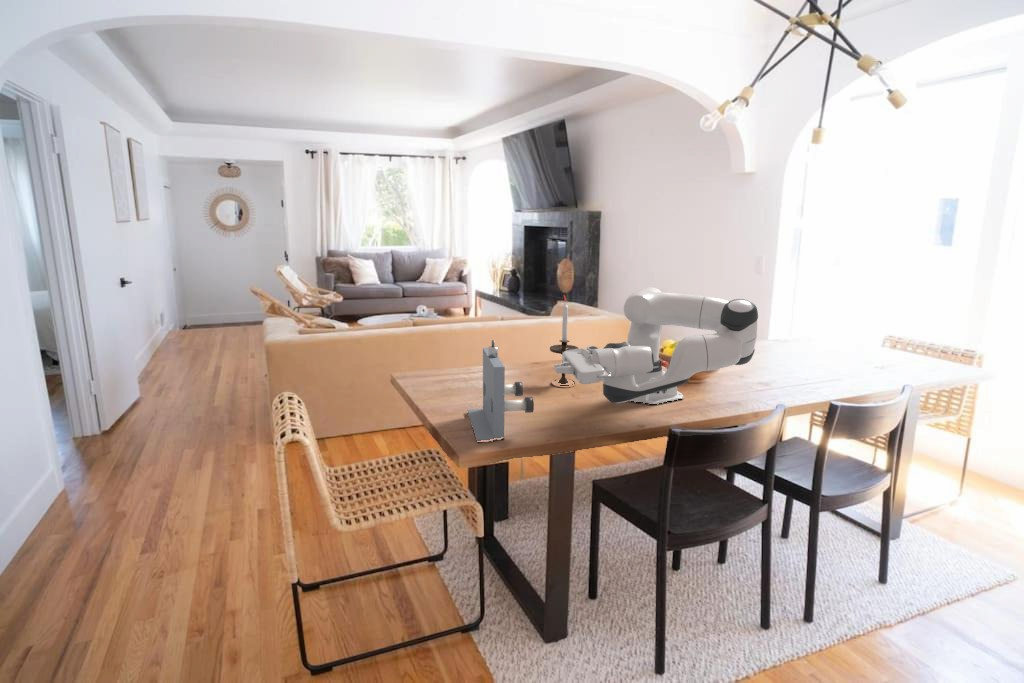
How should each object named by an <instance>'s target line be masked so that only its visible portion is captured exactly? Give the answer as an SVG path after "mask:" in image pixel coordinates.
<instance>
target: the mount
mask: <svg viewBox="0 0 1024 683" xmlns="http://www.w3.org/2000/svg"><path fill="white" fill-rule="evenodd" d="M505 368H506V367H505V365H504V363H503V361H501V359H500V357H499V356H498V357H496V358H490V357H488V347H482V408H475V409H474V408H472V409H471V408H469V409H468V408H467V411H468V413H467V415H468V414H469V416H468V418H469V417H470V419H469V421H470V420H471V422H470V424H471V423H472V425H471V427H472V426H473V429H474V432H475V435H474V437H475V436H476V438H475V440H476V439H477V441H481V440H490V439H494V438H501V437H504V438H505V412H504V401H505V395H504V387H505V385H506V383H505V382H506V380H505ZM473 429H472V430H473ZM474 432H473V433H474ZM477 441H476V442H477Z"/></svg>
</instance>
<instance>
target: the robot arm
mask: <svg viewBox="0 0 1024 683" xmlns="http://www.w3.org/2000/svg"><path fill="white" fill-rule="evenodd" d="M623 313H624V316H625V318H626V319H627V320H628V321H630V322H631V323H630V326H629V331H628V334H627V341H623V342H619V343H618V342H617V343H613V342H610V343H609V342H608V343H606V345H605V346H604V347H603V348H602V347H597V346H594V345H588V346H587V347H586V348H583V347H582V348H580V347H579V349H573V350H567V351H565V352H563V353H562V354H561V363H559V364H558V363H557V364H556V363H555V364H554V365H553V370H554V372H555V373H556V374H562V373H565V375H573V376H574V378H575V379H576V380H577V382H579V384H580V385H590V384H591V385H592V384H597V383H600V382H603V383H602V395H603V396H604V398H606V399H607V400H608V401H609V402H610V403H613V404H623V403H626V402H631V401H634V402H633V403H636V402H643V403H642V404H645V403H649V404H657V405H660V404H659V403H662V404H664V403H663V402H667V401H672V402H675V401H674V400H677V401H679V400H678V399H682V400H684V395H683V393H681V392H680V391H678V387H680V386H683V385H684V384H687V383H688V382H689V380H690V378H691V377H692V376H693V375H695V374H698V373H700V372H705V371H713V370H720V369H724V368H728V367H733V366H741V365H742V366H743V365H745V364H747V363H749V362H750V361H751V360H752V358H753V357H754V355H755V354H754V353H755V347H756V343H757V338H758V318H759V312H758V308H757V306H756V304H755V303H753V302H752V301H750V300H748V299H744V298H736V299H731V300H726V299H723V298H718V297H713V296H707V295H700V294H692V293H684V292H682V293H681V292H663V291H661V289H659V288H657V287H652V286H646V287H644V288H642V289H639V290H637V291H635V292H633V293H631V294H630V295H628V297H627V299H625V302H624V305H623ZM663 326H677V327H685V328H692V329H698V330H706V331H713V332H716V333H707V334H705V333H704V334H696V335H692V336H691V335H690V336H686V337H684V338H682V339H681V340H680V341H678V343H677V344H676V346H675V347H674V350H672V355H671V359H670V360H669V361H670V363H668V361H665V360H661V359H659V356H660V354H659V353H660V341H661V333H662V327H663ZM562 362H563V363H562ZM663 367H664V368H667V370H666V371H665V370H663ZM667 403H668V402H667ZM649 404H648V405H649Z"/></svg>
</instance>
